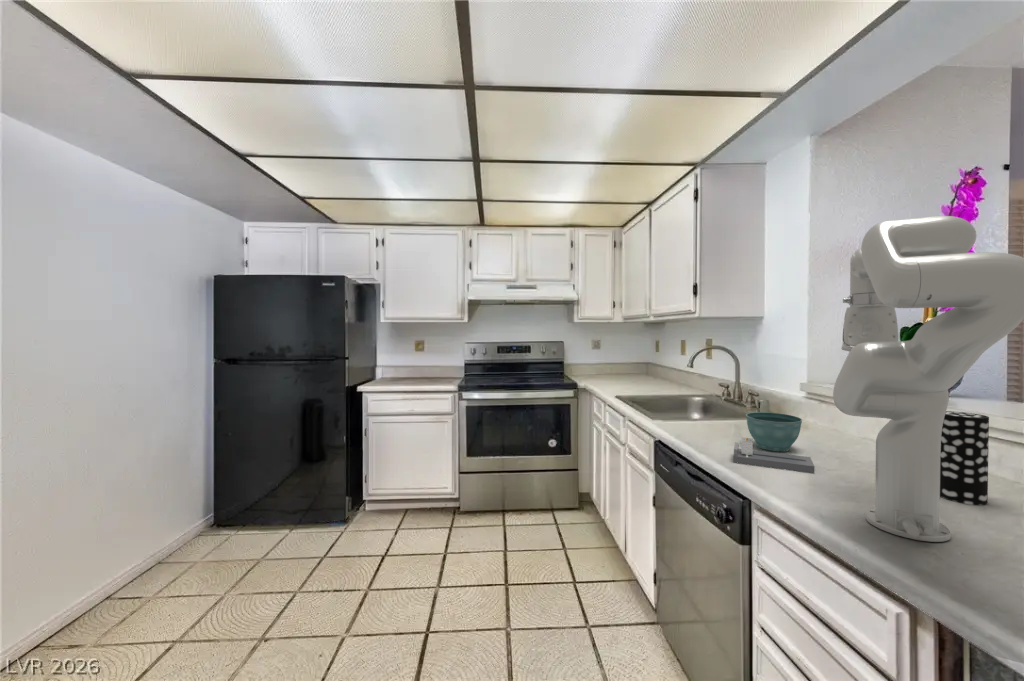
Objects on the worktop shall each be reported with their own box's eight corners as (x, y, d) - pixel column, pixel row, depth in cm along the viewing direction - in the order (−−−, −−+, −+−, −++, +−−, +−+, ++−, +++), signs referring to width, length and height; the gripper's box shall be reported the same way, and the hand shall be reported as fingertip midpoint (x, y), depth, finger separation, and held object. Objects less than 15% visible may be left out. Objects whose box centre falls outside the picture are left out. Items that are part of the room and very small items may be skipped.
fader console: (814, 473, 116) (814, 459, 116) (733, 462, 126) (733, 449, 126) (810, 463, 125) (810, 450, 125) (734, 454, 135) (735, 441, 135)
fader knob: (752, 455, 126) (752, 441, 126) (741, 454, 128) (741, 440, 127) (752, 451, 130) (752, 438, 130) (741, 449, 132) (741, 437, 132)
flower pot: (809, 457, 131) (809, 423, 131) (752, 452, 136) (752, 420, 136) (792, 443, 147) (792, 413, 147) (741, 440, 152) (741, 411, 152)
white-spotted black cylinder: (930, 489, 105) (931, 410, 104) (978, 495, 100) (979, 413, 100) (943, 500, 97) (944, 416, 97) (994, 508, 93) (996, 419, 93)
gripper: (834, 301, 104) (833, 374, 104) (914, 299, 96) (913, 377, 97) (829, 303, 110) (828, 372, 111) (904, 300, 103) (903, 374, 103)
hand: (868, 374), depth 104 cm, fingers closed
